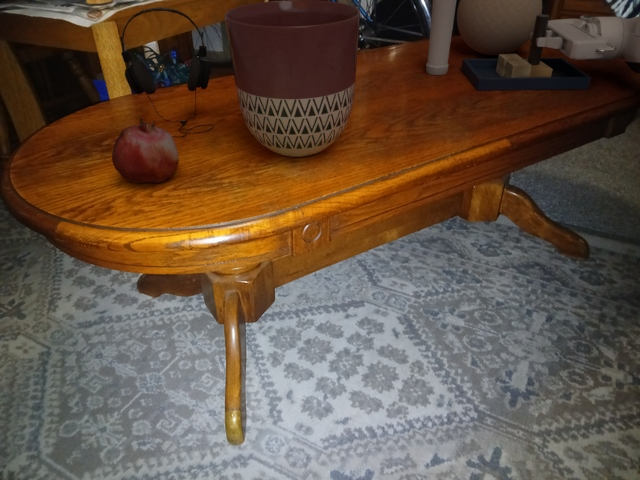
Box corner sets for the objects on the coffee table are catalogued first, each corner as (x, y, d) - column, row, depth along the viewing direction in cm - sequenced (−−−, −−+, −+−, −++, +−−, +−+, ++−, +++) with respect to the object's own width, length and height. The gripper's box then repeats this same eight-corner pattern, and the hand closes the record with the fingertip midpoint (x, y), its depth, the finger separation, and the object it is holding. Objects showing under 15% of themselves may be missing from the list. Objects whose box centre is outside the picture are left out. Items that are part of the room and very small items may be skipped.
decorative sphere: (482, 41, 145) (495, -39, 134) (547, 55, 132) (567, -33, 121) (436, 53, 135) (445, -32, 123) (502, 70, 122) (519, -24, 110)
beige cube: (521, 78, 115) (524, 59, 112) (527, 83, 111) (531, 65, 109) (503, 78, 115) (506, 60, 112) (509, 84, 111) (513, 65, 109)
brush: (533, 70, 119) (546, 11, 112) (549, 82, 112) (564, 19, 105) (512, 71, 119) (523, 11, 112) (527, 82, 112) (539, 20, 105)
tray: (560, 68, 122) (562, 57, 121) (588, 89, 109) (591, 77, 108) (461, 69, 123) (462, 59, 121) (477, 90, 110) (479, 78, 108)
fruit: (109, 177, 78) (92, 114, 73) (166, 159, 83) (154, 99, 78) (133, 199, 73) (116, 133, 67) (193, 179, 77) (182, 115, 72)
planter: (256, 125, 95) (245, -1, 83) (361, 129, 93) (365, 0, 80) (224, 172, 79) (205, 25, 67) (350, 179, 77) (353, 28, 65)
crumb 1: (512, 71, 119) (516, 53, 117) (518, 76, 116) (522, 58, 113) (495, 71, 119) (498, 54, 117) (501, 77, 116) (504, 58, 113)
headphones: (132, 141, 90) (103, 19, 78) (138, 118, 99) (112, 6, 87) (219, 134, 92) (203, 14, 81) (217, 112, 101) (202, 2, 90)
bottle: (427, 75, 119) (440, -48, 105) (423, 69, 123) (435, -50, 109) (450, 75, 119) (465, -48, 105) (444, 68, 123) (459, -51, 109)
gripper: (615, 67, 104) (545, 67, 104) (577, 42, 121) (517, 43, 121) (625, 34, 100) (553, 35, 101) (584, 14, 117) (523, 14, 118)
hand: (533, 39), depth 111 cm, fingers closed on brush, 2 cm apart
